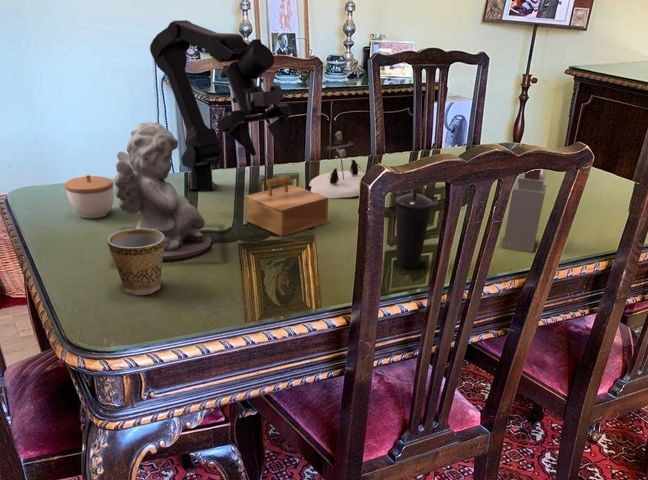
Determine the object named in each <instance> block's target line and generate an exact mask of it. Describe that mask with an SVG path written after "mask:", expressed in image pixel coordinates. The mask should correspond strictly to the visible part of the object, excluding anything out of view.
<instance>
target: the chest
mask: <svg viewBox="0 0 648 480" xmlns="http://www.w3.org/2000/svg"><path fill="white" fill-rule="evenodd" d="M246 200H247V199H246ZM246 203H247V223H250V224H251V225H254V226H256V227H259V228H262V229H264V230H267V231H269V232H271V233H273V234H275V235H278V236H280V237H284V236H288V235H291V234H294V233H298V232H301V231H305V230H308V229H311V228H315V227H318V226H322V225H325V224H328V223H329V200H328V201H325V202H322V203H318V204H314V205H311V206H307V207H303V208H299V209H296V210H292V211H288V212H285V213H280V212H277V211H275V210H272V209H270V208H267V207H265V206H262V205H260V204H257V203H255V202H252V201H250V200H247V202H246Z"/></svg>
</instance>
